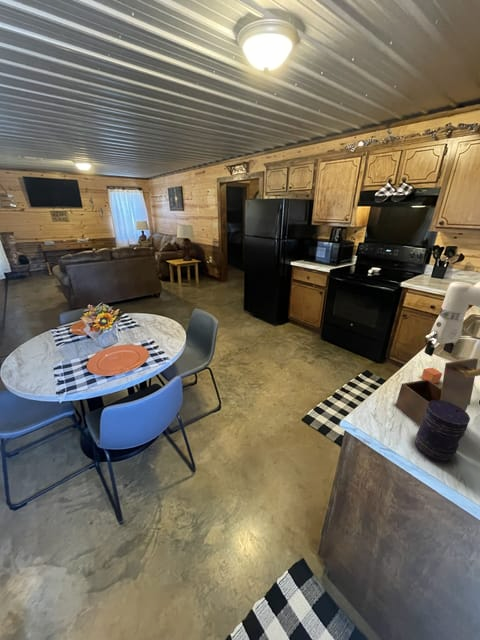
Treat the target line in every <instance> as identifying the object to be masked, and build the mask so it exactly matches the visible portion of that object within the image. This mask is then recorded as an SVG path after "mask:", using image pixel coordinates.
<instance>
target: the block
mask: <svg viewBox="0 0 480 640" xmlns="http://www.w3.org/2000/svg"><path fill="white" fill-rule="evenodd" d="M442 376H443V373H442V372H441V371H439V370H438V369H436V368H434V367H428V368H423V371H422V374H421V380H426V379H428V380H430V381H431V382H433V383H434V384H439V383H440V381H441V379H442Z"/></svg>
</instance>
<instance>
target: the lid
mask: <svg viewBox="0 0 480 640" xmlns="http://www.w3.org/2000/svg"><path fill="white" fill-rule="evenodd" d="M478 362H479V358H476V357H474V358H468V359H462V360H455V361H450V362H445V364H444V371H443V378H442V385H441V388H442V390H441V397H440V400H442V401H446V402H450V403H452V404H454V405H456V406H458V407H462V406H467V405H468V406H470V405H471V401H472V395H473V390H474V384H475V380H476V379H475V378H476V377H479V376H480V368H477V367H478Z"/></svg>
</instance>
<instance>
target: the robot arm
mask: <svg viewBox="0 0 480 640" xmlns="http://www.w3.org/2000/svg"><path fill="white" fill-rule="evenodd" d="M469 305H470V306H473V307H477V308H480V281H478V282H476V283H475V284H473V283H469V282H466V281H465V282H464V281H452V282H450V283H449V286H448V287H447V291H446V293H445V295H444V298H443V302H442V305H441V308H440V310H439V314H438V317H437V318H436V320H435V322H434V324H433V326H432V328H431V330H430V332H429V334H427V335H425V337H424V339H425V341H424V342H425V345H426V346H425V349H424V350H423V351H424V354H426V355H428V356H430V357H433V355H434V353H435V349H436V345H438V344H439V345H443V348H442V350H443V351H444V352H446V353H448V354H452V353H453V351H454V348H455V345H457V342H458V341H459V340H460V338H461V336H462V335H463V332H462V331H463V328H464V324H465V323H464V322H465V317H466V316H465V315H466V313H467V311H468V309H469V307H470V306H469Z"/></svg>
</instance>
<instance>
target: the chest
mask: <svg viewBox="0 0 480 640" xmlns="http://www.w3.org/2000/svg"><path fill="white" fill-rule="evenodd" d="M441 390H442V387H441V386H439V385H438V384H437V383H433V382H431V381H430V380H428V379H426V380H424V379H421V380H415V381H410V382H403V383H401V386H400V389H399V392H398V396H397V399H396V403H395V407H397V408H398V409H399V410H400V411H401V412H403V413H404V414H405V415H406V416H407V417H409V418H410V419H411V420H412V421H413V422H414V423H416V425H418V427H420V426H421V425H422V422H423V415H424V412H425V410H426V408H427V405H428V403H429V402H430V401H432V400H440V397H441ZM468 406H469V405H467V406H462V407H460V408H461V409H463V410H464V411H465V412H466V411H467V409H468Z"/></svg>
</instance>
